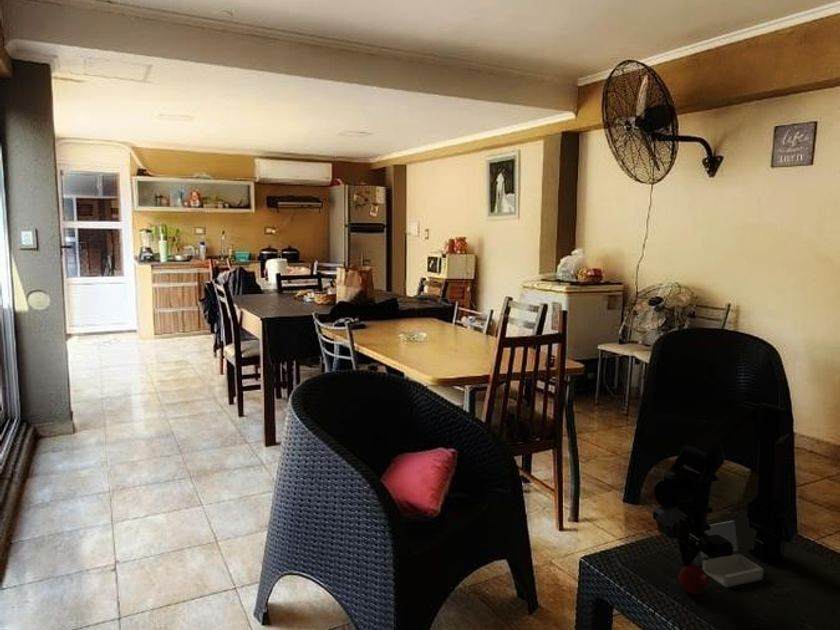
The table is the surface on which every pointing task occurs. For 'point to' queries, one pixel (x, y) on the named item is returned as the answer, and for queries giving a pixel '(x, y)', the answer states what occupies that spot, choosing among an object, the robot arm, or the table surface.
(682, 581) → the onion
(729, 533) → the cover
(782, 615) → the table surface
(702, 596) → the table surface
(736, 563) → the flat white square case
